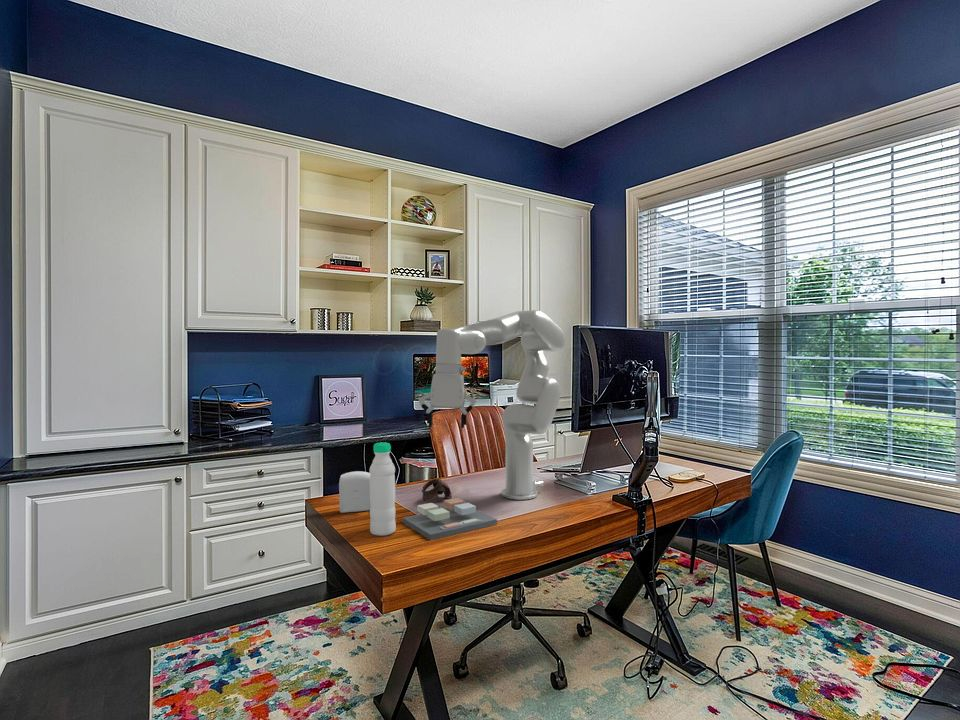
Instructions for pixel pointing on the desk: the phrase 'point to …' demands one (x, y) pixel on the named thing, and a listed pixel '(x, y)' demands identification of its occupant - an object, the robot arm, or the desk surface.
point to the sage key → (438, 514)
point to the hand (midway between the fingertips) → (446, 426)
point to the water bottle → (382, 491)
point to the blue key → (464, 508)
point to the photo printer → (354, 492)
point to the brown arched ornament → (436, 489)
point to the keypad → (448, 524)
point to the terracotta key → (452, 503)
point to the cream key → (426, 508)
